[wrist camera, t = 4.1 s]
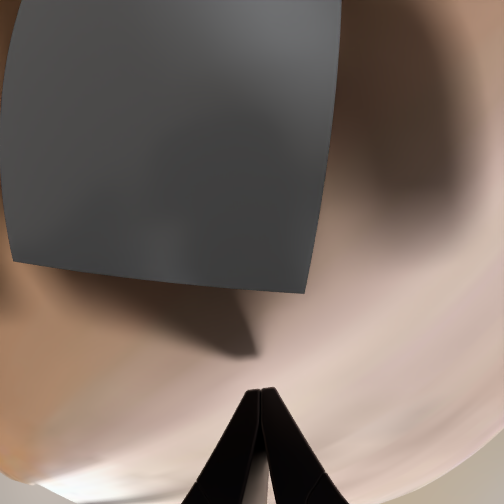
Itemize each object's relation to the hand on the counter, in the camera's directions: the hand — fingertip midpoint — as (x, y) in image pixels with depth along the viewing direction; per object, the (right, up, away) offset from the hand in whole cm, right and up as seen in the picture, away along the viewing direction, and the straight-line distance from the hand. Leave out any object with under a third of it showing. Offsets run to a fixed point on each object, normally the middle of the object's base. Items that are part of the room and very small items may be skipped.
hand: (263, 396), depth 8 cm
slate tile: (-2, +11, -3) cm, 12 cm away
